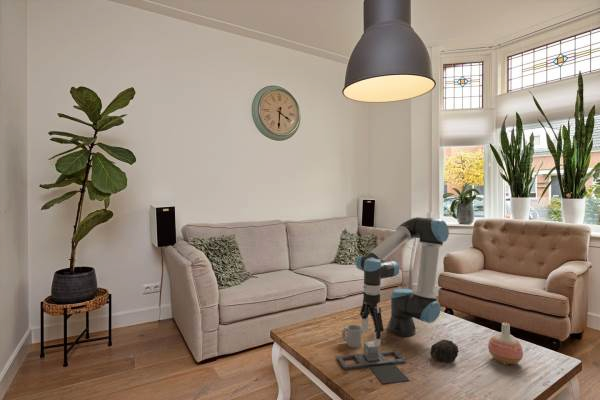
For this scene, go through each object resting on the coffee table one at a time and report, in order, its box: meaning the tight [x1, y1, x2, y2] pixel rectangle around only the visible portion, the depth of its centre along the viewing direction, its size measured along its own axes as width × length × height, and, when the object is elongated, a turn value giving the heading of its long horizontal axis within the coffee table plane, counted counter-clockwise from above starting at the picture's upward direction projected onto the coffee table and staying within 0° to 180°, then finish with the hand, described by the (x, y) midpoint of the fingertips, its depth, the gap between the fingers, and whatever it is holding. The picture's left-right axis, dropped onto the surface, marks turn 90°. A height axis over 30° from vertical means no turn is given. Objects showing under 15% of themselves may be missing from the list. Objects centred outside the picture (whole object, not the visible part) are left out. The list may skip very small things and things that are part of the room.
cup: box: [341, 324, 362, 349], centre depth 166 cm, size 7×10×9 cm
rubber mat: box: [369, 364, 410, 385], centre depth 139 cm, size 12×12×1 cm
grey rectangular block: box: [363, 340, 380, 363], centre depth 150 cm, size 5×5×8 cm
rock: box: [429, 339, 459, 363], centre depth 152 cm, size 10×11×10 cm
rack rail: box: [336, 349, 407, 371], centre depth 150 cm, size 30×10×1 cm, turn 102°
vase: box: [487, 322, 524, 365], centre depth 150 cm, size 14×14×18 cm
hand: (370, 338), depth 150 cm, fingers open, 13 cm apart
